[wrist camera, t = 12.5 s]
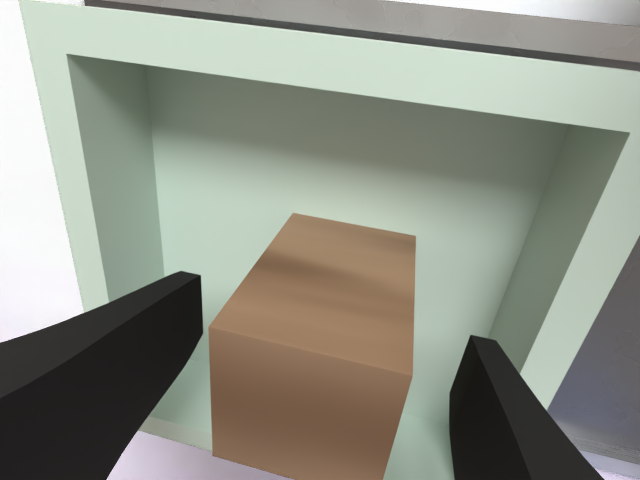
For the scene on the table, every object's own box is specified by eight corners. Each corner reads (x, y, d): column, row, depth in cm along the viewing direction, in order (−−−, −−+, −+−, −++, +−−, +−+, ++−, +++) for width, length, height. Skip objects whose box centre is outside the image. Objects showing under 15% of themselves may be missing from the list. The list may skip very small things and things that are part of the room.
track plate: (736, 484, 17) (757, 513, 16) (136, 334, 21) (122, 349, 20) (1129, 81, 10) (1215, 85, 8) (86, -29, 14) (58, -34, 13)
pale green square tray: (467, 411, 18) (483, 529, 13) (175, 338, 20) (107, 421, 15) (605, 66, 11) (720, 82, 7) (148, 12, 13) (18, -2, 9)
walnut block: (391, 334, 14) (376, 502, 9) (285, 310, 15) (212, 455, 10) (416, 235, 13) (413, 376, 7) (293, 212, 13) (208, 327, 8)
